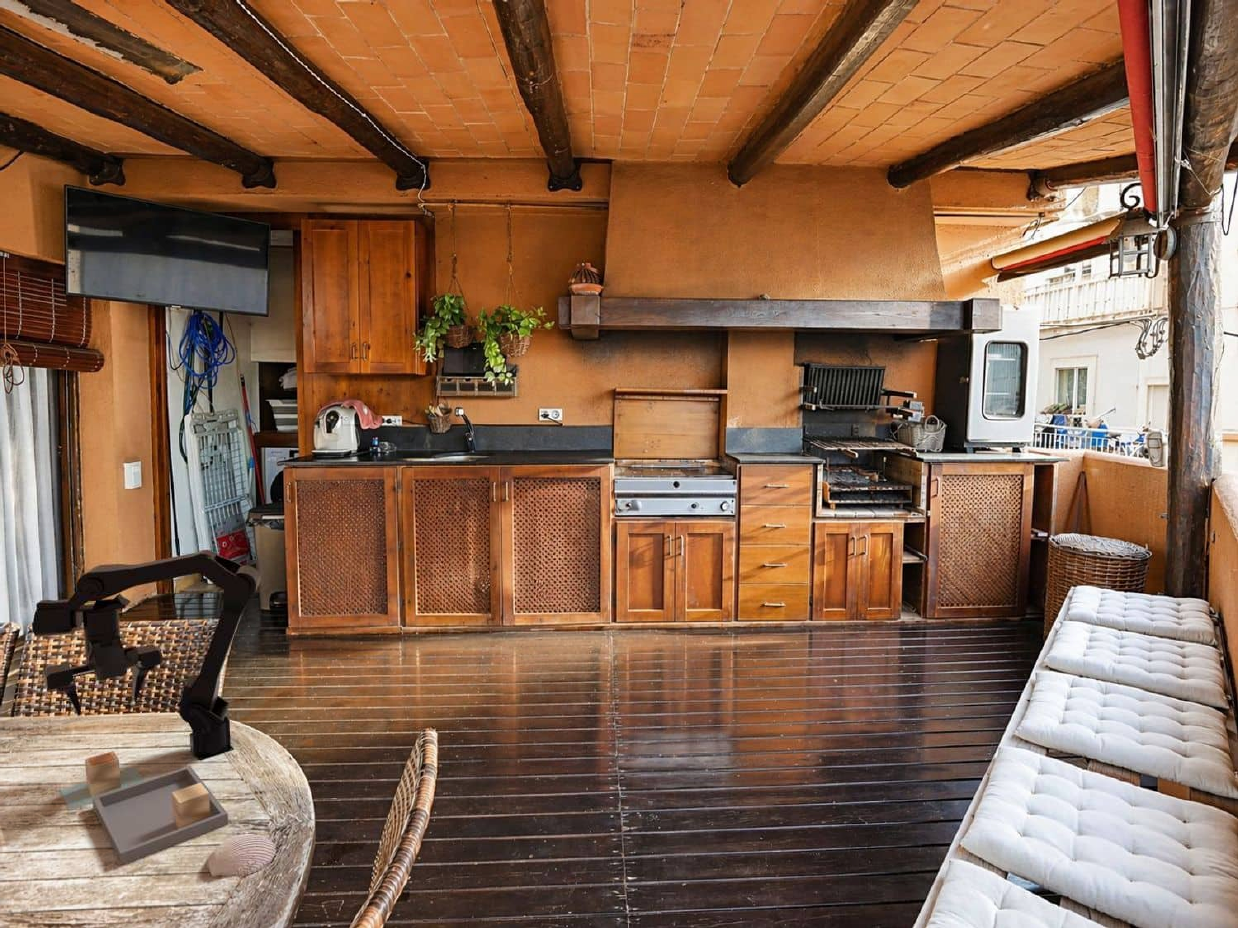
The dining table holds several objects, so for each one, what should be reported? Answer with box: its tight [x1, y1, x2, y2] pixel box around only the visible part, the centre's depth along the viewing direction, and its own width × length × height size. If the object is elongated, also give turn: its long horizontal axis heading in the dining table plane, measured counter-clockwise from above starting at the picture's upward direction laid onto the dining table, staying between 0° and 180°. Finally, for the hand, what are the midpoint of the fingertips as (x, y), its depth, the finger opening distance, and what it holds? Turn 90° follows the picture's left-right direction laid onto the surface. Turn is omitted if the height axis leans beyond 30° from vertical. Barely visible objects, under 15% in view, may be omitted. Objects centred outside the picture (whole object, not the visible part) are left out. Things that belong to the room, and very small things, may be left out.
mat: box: [59, 766, 145, 811], centre depth 138 cm, size 12×9×1 cm
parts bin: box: [92, 765, 229, 867], centre depth 129 cm, size 16×22×2 cm
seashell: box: [205, 833, 276, 878], centre depth 118 cm, size 10×6×10 cm
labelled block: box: [84, 750, 121, 797], centre depth 138 cm, size 4×4×6 cm
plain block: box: [172, 783, 210, 829], centre depth 127 cm, size 4×4×6 cm
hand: (107, 707), depth 145 cm, fingers open, 9 cm apart
